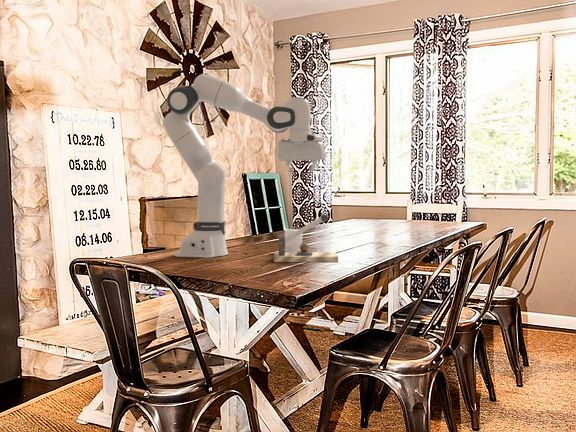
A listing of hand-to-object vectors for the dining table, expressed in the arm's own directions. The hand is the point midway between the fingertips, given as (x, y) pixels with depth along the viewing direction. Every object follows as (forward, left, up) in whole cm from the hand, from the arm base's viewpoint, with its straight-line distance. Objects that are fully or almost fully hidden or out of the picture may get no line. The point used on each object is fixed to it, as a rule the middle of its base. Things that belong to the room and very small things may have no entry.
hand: (301, 171), depth 228 cm
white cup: (-3, +10, -35) cm, 37 cm away
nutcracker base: (+1, -9, -35) cm, 36 cm away
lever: (+1, -9, -24) cm, 26 cm away
